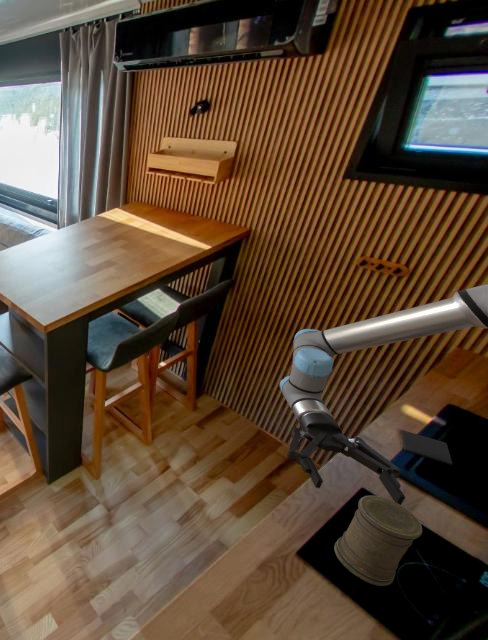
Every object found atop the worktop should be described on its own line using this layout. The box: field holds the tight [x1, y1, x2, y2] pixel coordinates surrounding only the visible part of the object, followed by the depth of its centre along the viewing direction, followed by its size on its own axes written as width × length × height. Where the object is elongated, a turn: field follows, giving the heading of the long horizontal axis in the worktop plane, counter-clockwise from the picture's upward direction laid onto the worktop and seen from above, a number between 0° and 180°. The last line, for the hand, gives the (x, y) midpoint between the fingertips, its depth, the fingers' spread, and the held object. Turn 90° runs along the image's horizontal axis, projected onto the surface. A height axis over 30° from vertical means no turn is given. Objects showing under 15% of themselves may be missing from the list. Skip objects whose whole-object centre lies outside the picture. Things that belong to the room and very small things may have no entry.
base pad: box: [400, 429, 453, 466], centre depth 99 cm, size 8×8×1 cm
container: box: [333, 495, 423, 587], centre depth 76 cm, size 9×9×18 cm
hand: (358, 492), depth 82 cm, fingers open, 13 cm apart
